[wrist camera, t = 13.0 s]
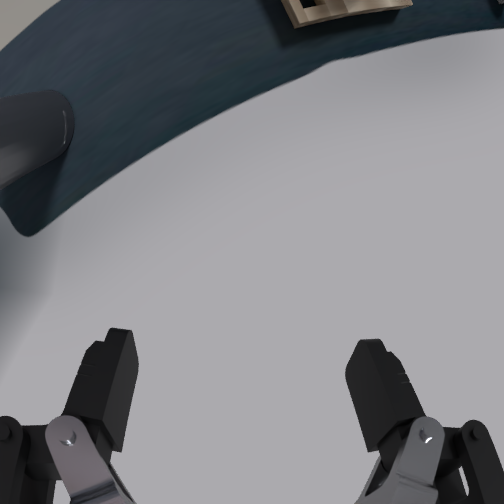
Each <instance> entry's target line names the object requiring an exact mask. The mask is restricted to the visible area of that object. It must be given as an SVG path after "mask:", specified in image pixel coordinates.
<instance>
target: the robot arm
mask: <svg viewBox="0 0 504 504" xmlns="http://www.w3.org/2000/svg"><path fill="white" fill-rule="evenodd" d="M73 130H74V116H73V111H72V109H71V106H70V104H69V102H68V101H67V99H66V98H65V97H64V96H63V95H61V94H60V93H58V92H56V91H51V90H47V91H38V92H31V93H24V94H18V95H12V96H7V97H2V98H0V190H1V189H3V188H5V187H6V186H8V185H9V184H11V183H13V182H14V181H16V180H18V179H19V178H21V177H23V176H24V175H26V174H28V173H30V172H31V171H33V170H35V169H37V168H39V167H41V166H42V165H44V164H46V163H48V162H50V161H51V160H53V159H55V158H57V157H59V156H60V155H61V154H62V153H63V152H64V151H65V150H66V149H67V147H68V145H69V143H70V141H71V139H72V135H73ZM138 365H139V363H138V356H137V351H136V346H135V342H134V337H133V333H132V331H131V330H126V329H117V328H110V329H109V331H108V333H107V336H106V338H105V341H104V342H102V341H95V342H94V343H93V344H92V345H91V346H90V347H89V348H88V349H87V350H86V353H85V355H84V357H83V360H82V362H81V365H80V367H79V370H78V372H77V373H78V374H77V375H76V377H75V380H74V383H73V386H72V388H71V391H70V394H69V397H68V399H67V403H66V405H65V408H64V411H63V413H62V414H61V416H59V417H57V418H55V419H53V420H52V421H51V422H50V423H49V424H47V425H30V426H21V425H20V424H19V422H18V421H17V420H16V419H14V418H12V417H10V416H1V417H0V504H53V497H54V490H55V484H56V480H62V481H63V483H64V485H65V487H66V489H67V491H68V493H69V496H70V498H71V501H70V504H136V502H135V501H134V499H133V498H132V496H131V495H130V493H129V492H128V490H127V489H126V487H125V486H124V484H123V483H122V481H121V479H120V478H119V476H118V474H117V473H116V471H115V469H114V468H113V466H112V464H111V462H110V459H111V454H112V451H117V452H122V447H123V441H124V436H125V431H126V426H127V420H128V416H129V411H130V406H131V402H132V397H133V393H134V388H135V384H136V380H137V375H138V367H139V366H138ZM345 377H346V382H347V385H348V389H349V391H350V395H351V398H352V401H353V404H354V407H355V411H356V414H357V417H358V420H359V424H360V427H361V430H362V434H363V437H364V440H365V443H366V447H367V450H368V452H372V451H378V450H379V453H380V456H379V457H378V459H377V461H376V463H375V466H374V468H373V470H372V472H371V474H370V477H369V479H368V481H367V483H366V485H365V487H364V489H363V491H362V493H361V495H360V497H359V499H358V500H357V501H356V502H355V504H504V471H503V468H502V465H501V463H500V460H499V458H498V455H497V452H496V449H495V447H494V444H493V442H492V439H491V437H490V435H489V432H488V430H487V428H486V427H485V425H484V424H482V423H481V422H480V421H477V420H470V421H468V422H466V423H465V424H464V425H463V426H462V427H461V428H451V427H442V426H441V424H440V423H439V422H438V421H437V420H435V419H433V418H431V417H427V416H426V415H425V413H424V411H423V409H422V406H421V404H420V402H419V400H418V397H417V395H416V393H415V391H414V389H413V387H412V384H411V383H410V382H409V381H410V380H409V378H408V376H407V374H405V370H404V368H403V366H402V364H401V362H400V360H399V359H398V358H397V357H396V356H395V355H394V354H393V353H392V352H387V351H386V348H385V346H384V344H383V342H382V341H381V340H380V339H366V340H365V339H364V340H360V341H359V342H358V343H357V345H356V347H355V350H354V352H353V354H352V356H351V358H350V360H349V362H348V364H347V367H346V372H345ZM461 466H462V468H463V471H464V474H465V477H466V480H467V484H468V487H469V494H468V496H467V495H466V492H465V489H464V485H463V482H462V479H461V476H460V472H459V468H460V467H461Z"/></svg>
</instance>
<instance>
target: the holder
mask: <svg viewBox="0 0 504 504" xmlns="http://www.w3.org/2000/svg"><path fill="white" fill-rule="evenodd" d="M281 1H282V3H283V6H284V8H285V10H286V12H287V14H288V16H289V18H290V20H291V22H292V24H293V27H294V29H296V28H299V27H303V26H307V25H311V24H315V23H319V22H324V21H328V20H333V19H337V18H342V17H348V16H353V15H359V14H365V13H372V12H379V11H387V10H396V9H402V8H405V7H408V6H411V5H413V3H412V1H411V0H314V1H315V4H316V6H313V7H309V8H305V9H303V7H302V5H301V3H300V1H299V0H281Z"/></svg>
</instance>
